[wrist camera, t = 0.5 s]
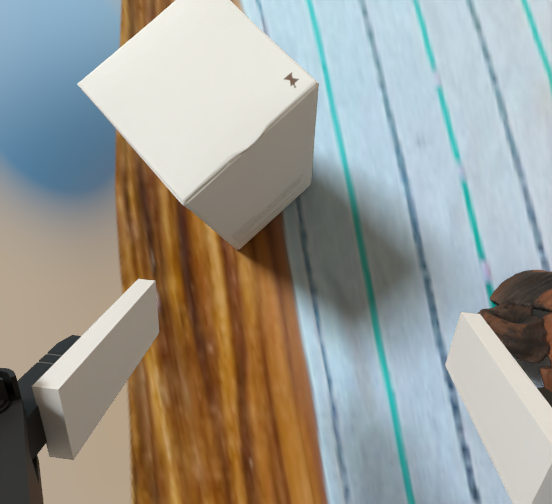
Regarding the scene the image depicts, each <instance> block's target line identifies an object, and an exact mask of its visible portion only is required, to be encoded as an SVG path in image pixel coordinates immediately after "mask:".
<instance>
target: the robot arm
mask: <svg viewBox="0 0 552 504" xmlns="http://www.w3.org/2000/svg"><path fill="white" fill-rule="evenodd" d="M158 334H159V325H158V311H157V298H156V284H155V281H154V280H144V279H138V280H137V281H136V282H135V283H134V284H133V285H132V286H131V287H130V288H129V289H128V290H127V291H126V292H125V293H124V294H123V295H122V296H121V297H120V298H119V299H118V300H117V301H116V302H115V303H114V304H113V305H112V306H111V307H110V308H109V309H108V310H107V311H106V312H105V313H104V314H103V315H102V316H101V317H100V318H99V319H98V320H97V321H96V322H95V323H94V324H93V325H92V326H91V327H90V329H88V330H87V331H86V332H85V333H84V334H83V335H82V336H75V335H72V336H70V337H68V338H66V339H64V340H63V341H61V342H59V343H58V344H56V345H55V346H54V347H53V348H52V349H51V350H50V351H49V352H48V354H47V355H45V356H44V357H43V358H41V360H39V363H36V364H35V365H34V366H33V367H32V368H31V369H30V370H29V371H28V372H27V373H25V374H24V375H23V376H22V377H21V378H20V379H19V380H18V381H17V378H16V375H15V373H14V372H13V371H12V370H10V369H6V368H0V504H43V495H42V486H41V477H40V469H39V468H40V467H39V460H38V457H37V454H38V452H39V451H40V450H41V448H42V447H43V446H44V445H45V444H47V448H48V452H49V456H50V457H56V458H63V459H71V460H74V458H75V457H76V455H77V454H78V452H79V451H80V450H81V448H82V447H83V445H84V443H85V442H86V441H87V439H88V438H89V436H90V435H91V433H92V432H93V430H94V429H95V427H96V426H97V424H98V423H99V421H100V420H101V418H102V417H103V415H104V414H105V412H106V411H107V409H108V408H109V406H110V405H111V404H112V402H113V401H114V399H115V398H116V396H117V395H118V393H119V392H120V390H121V389H122V387H123V386H124V384H125V383H126V381H127V380H128V378H129V377H130V375H131V374H132V372H133V371H134V369H135V368H136V366H137V365H138V363H139V362H140V360H141V359H142V358H143V356H144V355H145V353H146V352H147V350H148V349H149V347H150V346H151V344H152V343H153V341H154V340H155V338H156V337H157V335H158ZM445 366H446V368H447V370H448V372H449V374H450V376H451V378H452V380H453V382H454V384H455V386H456V388H457V390H458V392H459V394H460V396H461V398H462V401H463V403H464V405H465V407H466V409H467V411H468V413H469V415H470V417H471V419H472V421H473V423H474V425H475V427H476V429H477V431H478V433H479V435H480V437H481V439H482V441H483V443H484V446H485V448H486V450H487V452H488V454H489V456H490V458H491V460H492V462H493V464H494V466H495V468H496V470H497V472H498V474H499V476H500V478H501V480H502V482H503V484H504V486H505V488H506V491H507V493H508V495H509V497H510V499H511V501H512V503H513V504H552V392H551V391H549V390H548V389H545V388H536V386H535V385H534V384H533V382H532V381H531V380H530V379H529V377H528V376H527V375H526V373H525V372H524V371H523V369H522V368H521V367H520V366H519V364H518V363H517V362H516V360H515V359H514V358H513V356H512V355H511V354H510V352H509V351H508V350H507V349H506V347H505V346H504V345H503V343H502V342H501V341H500V339H499V338H498V337H497V336H496V334H495V333H494V332H493V330H492V329H491V328H490V326H489V325H488V324H487V323H486V321H485V320H484V319H483V317H482V316H481V315H480V314H475V313H465V312H461V314H460V317H459V320H458V324H457V327H456V330H455V334H454V337H453V341H452V344H451V347H450V351H449V354H448V357H447V361H446V364H445Z"/></svg>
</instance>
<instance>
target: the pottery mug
mask: <svg viewBox="0 0 552 504" xmlns="http://www.w3.org/2000/svg"><path fill="white" fill-rule="evenodd" d="M490 300H491V301H493V302H496V303H497V304H499V305H497V306H495V307H494V308H491V309H482V310H481V311H480V312H479V313H477V314H480V315H481V316H482V317H483V319H484V320H485V321H486V323H487V324H488V325H489V326H490V328H491V329H492V330H493V332H494V333H495V334H496V336H497V337H498V338H499V339H500V341H501V342H502V343H503V345H504V346H505V347H506V349H507V350H508V351H509V352H510V353H511V354H512V355H514V356H515V357H516V358H517V359H519V360H523V361H529V362H532V363H538V362H541V361H543V360H544V359H545V357H546V356H548V357H549V360H550V363H551V366H550V367H549V366H542V367H541V368H540V373H541V375H542V379H543V382H544V387H542V388H545V389H548V390H549V391H551V392H552V272H547V271H543V270H530V271H529V270H528V271H524V272H521V273H518V274H515V275H514V276H512V277H510V278H509V279H507V280H505V281H504V282H503V283H501V284H500V285H499V287H498V288H497V289H496V290H495V291H494V293H493V294H492V296H491V297H490ZM533 309H537V310H542V311H547V312H549V313H547V314H545V315H544V316H543V317H542V318H541V319H540V318H539V317H536V316H533V314H532V313H533V311H532V310H533Z"/></svg>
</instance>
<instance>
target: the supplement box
mask: <svg viewBox="0 0 552 504" xmlns="http://www.w3.org/2000/svg"><path fill="white" fill-rule="evenodd" d="M78 86H79V87H80V88H81V89H82V90H83V91H84V92H85V94H86V95H87V96H88V97H89V98H90V99H91V100H92V102H93V103H94V104H95V105H96V106H97V107H98V108H99V110H100V111H101V112H102V113H103V114H104V115H105V117H106V118H107V119H108V120H109V121H110V122H111V123H112V124H113V126H114V127H115V128H116V129H117V130H118V132H119V133H120V134H121V135H122V136H123V137H124V138H125V140H126V141H127V142H128V143H129V144H130V145H131V147H132V148H133V149H134V150H135V151H136V152H137V153H138V155H139V156H140V157H141V158H142V159H143V160H144V161H145V163H146V164H147V165H148V166H149V167H150V168H151V169H152V171H153V172H154V173H155V174H156V175H157V176H158V177H159V179H160V180H161V181H162V182H163V183H164V184H165V186H166V187H167V188H168V189H169V190H170V191H171V192H172V194H173V195H174V196H175V197H176V198H177V199H178V201H179V202H180V203H181V204H182V205H184V206H185V207H187V208H188V209H189V210H191V211H192V212H193V213H194V214H195V215H197V216H198V217H199V218H200V219H201V220H203V221H204V222H205V223H206V224H207V225H208V226H210V227H211V228H212V229H213V230H214V231H215V232H217V233H218V234H219V235H220V236H221V237H222V238H224V239H225V240H226V241H227V242H228V243H229V244H230V245H232V246H233V247H234V248H235V249H236V250H239V249H241V248H242V247H243V246H244V245H245V244H246V243H247V242H248V241H250V240H251V239H252V238H253V237H254V236H255V235H256V234H257V233H258V232H259V231H261V230H262V229H263V228H264V227H265V226H266V225H267V224H268V223H269V222H271V221H272V220H273V219H274V218H275V217H276V216H277V215H278V214H279V213H280V212H282V211H283V210H284V209H285V208H286V207H287V206H288V205H289V204H290V203H291V202H293V201H294V200H295V199H296V198H297V197H298V196H299V195H300V194H301V193H302V192H303V191H305V190H306V189H307V188H308V187H309V186H310V185H311V177H312V165H313V150H314V137H315V124H316V112H317V99H318V86H319V84H318V82H317V81H316V80H314V79H313V78H312V77H311V76H310V75H309V74H308V73H307V72H306V71H305V70H304V69H303V68H302V67H300V66H299V65H298V64H297V63H296V62H295V61H294V60H293V59H292V58H291V57H290V56H289V55H287V54H286V53H285V52H284V51H283V50H282V49H281V48H280V47H279V46H278V45H277V44H276V43H274V42H273V41H272V40H271V39H270V38H269V37H268V36H267V35H266V34H265V33H264V32H263V31H261V30H260V29H259V28H258V27H257V26H256V25H255V24H254V23H253V22H252V21H251V20H250V19H249V18H248V17H247V16H246V15H245V14H244V13H243V12H241V11H240V10H239V9H238V8H237V7H236V6H235V5H234V4H233V3H232V2H231V1H230V0H176V1H175V2H173V3H172V4H171V5H170V6H169V7H168V8H167V9H165V10H164V11H163V12H162V13H161V14H160V15H158V16H157V17H156V18H155V19H154V20H153V21H151V22H150V23H149V24H148V25H147V26H146V27H144V28H143V29H142V30H141V31H140V32H138V33H137V34H136V35H135V36H134V37H133V38H131V39H130V40H129V41H128V42H127V43H125V44H124V45H123V46H122V47H121V48H120V49H118V50H117V51H116V52H115V53H114V54H112V55H111V56H110V57H109V58H108V59H107V60H105V61H104V62H103V63H102V64H101V65H99V66H98V67H97V68H96V69H95V70H94V71H92V72H91V73H90V74H89V75H88V76H86V77H85V78H84V79H83V80H82V81H80V82H79V83H78Z"/></svg>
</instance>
